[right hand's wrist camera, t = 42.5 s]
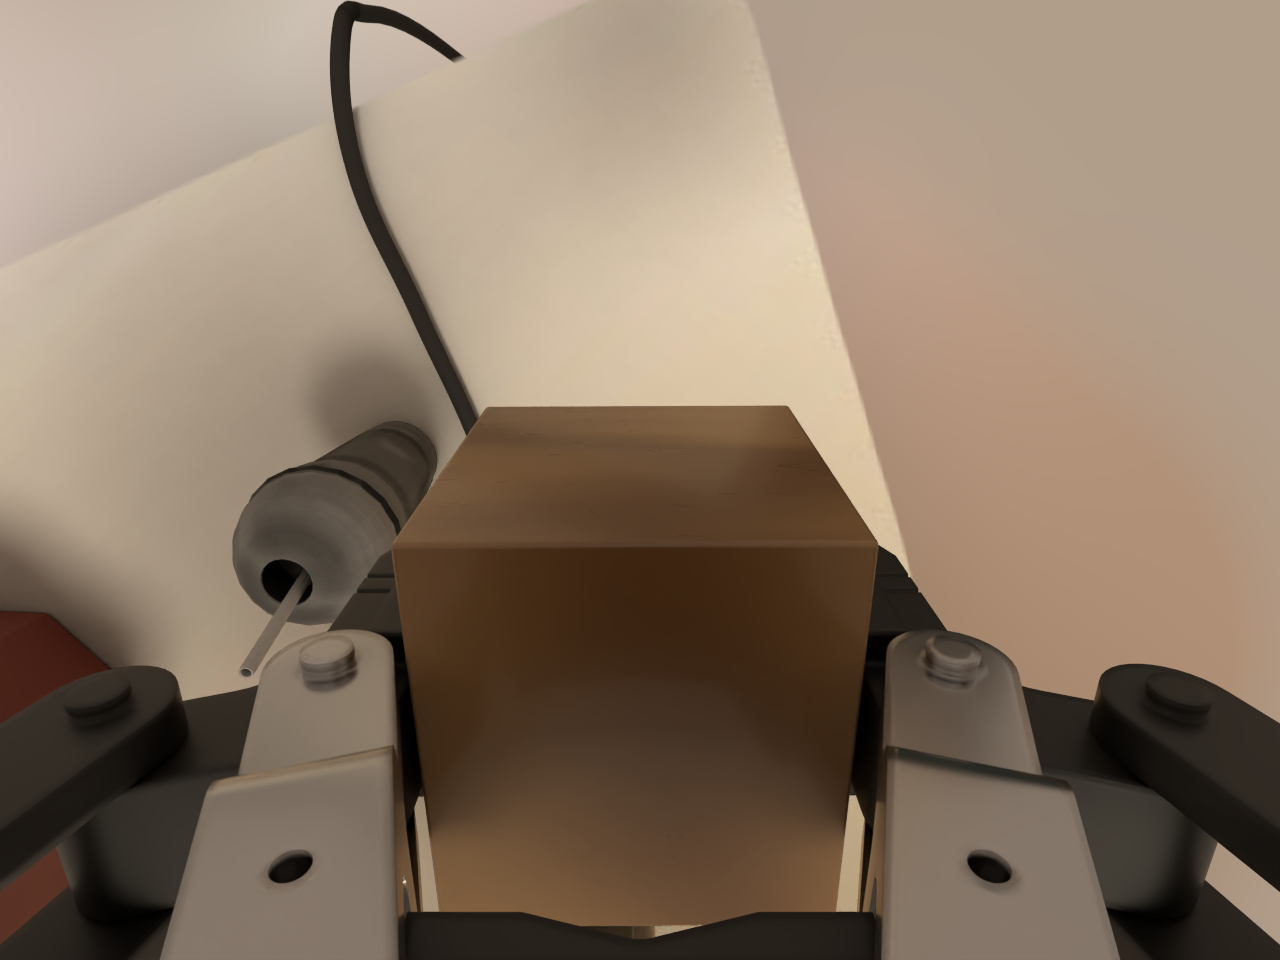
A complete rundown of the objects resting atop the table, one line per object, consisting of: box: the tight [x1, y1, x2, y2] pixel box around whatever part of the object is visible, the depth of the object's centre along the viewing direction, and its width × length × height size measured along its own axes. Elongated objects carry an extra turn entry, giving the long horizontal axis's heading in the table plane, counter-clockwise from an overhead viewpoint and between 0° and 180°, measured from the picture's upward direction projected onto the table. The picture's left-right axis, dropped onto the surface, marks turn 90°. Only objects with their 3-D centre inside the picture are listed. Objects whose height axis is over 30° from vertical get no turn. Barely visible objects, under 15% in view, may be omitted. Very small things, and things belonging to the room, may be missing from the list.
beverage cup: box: [233, 421, 437, 678], centre depth 36 cm, size 7×7×20 cm
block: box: [391, 406, 879, 926], centre depth 10 cm, size 4×5×5 cm
